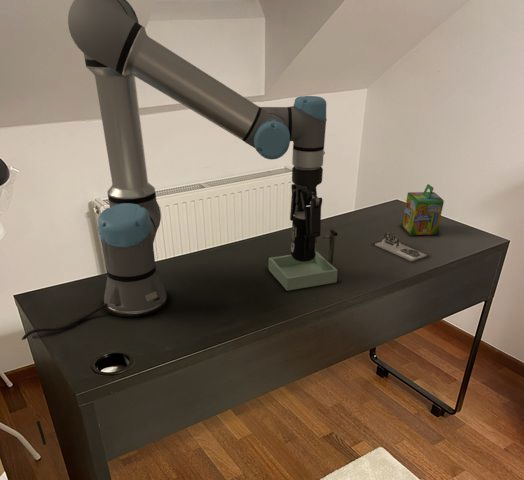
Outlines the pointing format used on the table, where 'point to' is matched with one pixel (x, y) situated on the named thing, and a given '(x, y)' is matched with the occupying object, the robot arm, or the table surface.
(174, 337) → the table surface
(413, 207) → the chalk box
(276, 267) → the sink
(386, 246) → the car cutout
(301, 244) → the beverage can
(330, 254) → the tap
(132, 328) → the table surface
